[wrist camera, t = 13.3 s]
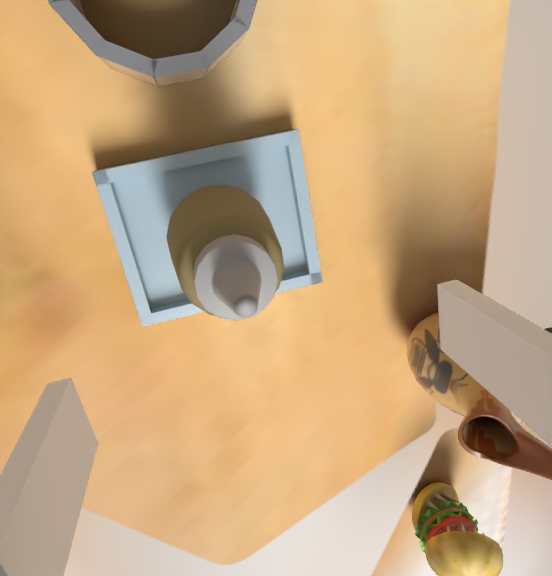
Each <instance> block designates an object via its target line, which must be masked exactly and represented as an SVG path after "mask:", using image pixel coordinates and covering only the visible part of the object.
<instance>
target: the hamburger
mask: <svg viewBox="0 0 552 576" xmlns="http://www.w3.org/2000/svg"><path fill="white" fill-rule="evenodd" d="M459 503H460V502H459V499H458V496H457V493H456V491H455V489H454V488H453V487H451V486H450V485H448V484H445V483H441V482H436V483H432V484H429V485H427V486H426V487H425V488H424V489H423V490H422V491H421V492H420V493H419V494H418V496H417V498H416V500H415V502H414V505H413V510H412V522H413V526H414V528H415V530H416V532H415V535H416V536H417V537H418V538H419V539H421V540H420V541H419V543H420V546H421V548H422V550H423V552H425V553H426V558H427V561H428V563H429V565H430V567H431V568H432V570H433V571H434V572H435V573H436V575H438V576H498V575H499V574H500V572H501V570H502V567H503V553H502V550H501V548H500V546H499V544H498V543H497V542H496V541H494V540H492V539H491V538H489V537H487V536H485V535H484V533H483V534H479V533H477V531H478V528H477V524H478V522H477V519H476V520H475V521H473V516H471V515H470V514H469V513H468V510H467V508H466V506H464V505H463V504H462V503H460V504H459Z"/></svg>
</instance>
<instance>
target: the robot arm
mask: <svg viewBox="0 0 552 576" xmlns="http://www.w3.org/2000/svg"><path fill="white" fill-rule="evenodd" d="M437 289H438V308H439V327H440V346H441V350H442V351H443V352H444V353H445V354H446V355H448V356H449V357H450V358H451V359H452V360H453V361H454V362H456V363H457V364H458V365H459V366H460V367H461V368H462V369H464V370H465V371H466V372H467V373H468V374H469V375H470V376H472V377H473V378H474V379H475V380H476V381H477V382H478V383H479V384H481V385H482V386H483V387H484V388H485V389H486V390H487V391H489V392H490V393H491V394H492V395H493V396H494V397H495V398H497V399H498V400H499V401H500V402H501V403H502V404H503V405H505V406H506V407H507V408H508V409H509V410H510V411H511V412H513V413H514V414H515V415H516V416H517V417H518V418H519V419H521V420H522V421H523V422H524V423H525V424H526V425H527V426H528V427H530V428H531V429H532V430H533V431H534V432H535V433H537V434H538V435H539V436H540V437H541V438H542V439H543V440H545V441H546V442H547V443H548V444H549V445H550V446H551V447H552V328H546V329H543V328H541V327H539V326H537V325H536V324H534V323H532V322H530V321H529V320H527V319H525V318H523V317H522V316H520V315H518V314H516V313H515V312H513V311H511V310H509V309H508V308H506V307H504V306H502V305H500V304H499V303H497V302H495V301H494V300H492V299H490V298H488V297H486V296H485V295H483V294H481V293H480V292H478V291H476V290H474V289H473V288H471V287H469V286H467V285H466V284H464V283H462V282H460V281H459V280H457V279H456V280H452V281H448V282H444V283H440V284H437ZM97 445H98V442H97V439H96V437H95V434H94V432H93V429H92V427H91V425H90V422H89V420H88V417H87V415H86V413H85V410H84V408H83V405H82V403H81V401H80V398H79V396H78V393H77V391H76V388H75V386H74V384H73V381H72V379H71V378H68V379H64V380H60V381H56V382H52V383H48V384H47V386H46V387H45V389H44V391H43V393H42V395H41V397H40V399H39V401H38V403H37V405H36V407H35V409H34V411H33V413H32V415H31V417H30V419H29V420H28V422H27V424H26V426H25V428H24V430H23V432H22V434H21V436H20V438H19V440H18V442H17V444H16V446H15V448H14V450H13V452H12V453H11V455H10V457H9V459H8V461H7V463H6V465H5V467H4V469H3V471H2V473H1V475H0V576H63V575H64V571H65V568H66V564H67V560H68V556H69V552H70V549H71V545H72V540H73V537H74V533H75V529H76V525H77V522H78V518H79V514H80V510H81V507H82V503H83V499H84V495H85V491H86V487H87V484H88V480H89V476H90V472H91V468H92V465H93V461H94V457H95V453H96V449H97Z"/></svg>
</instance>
